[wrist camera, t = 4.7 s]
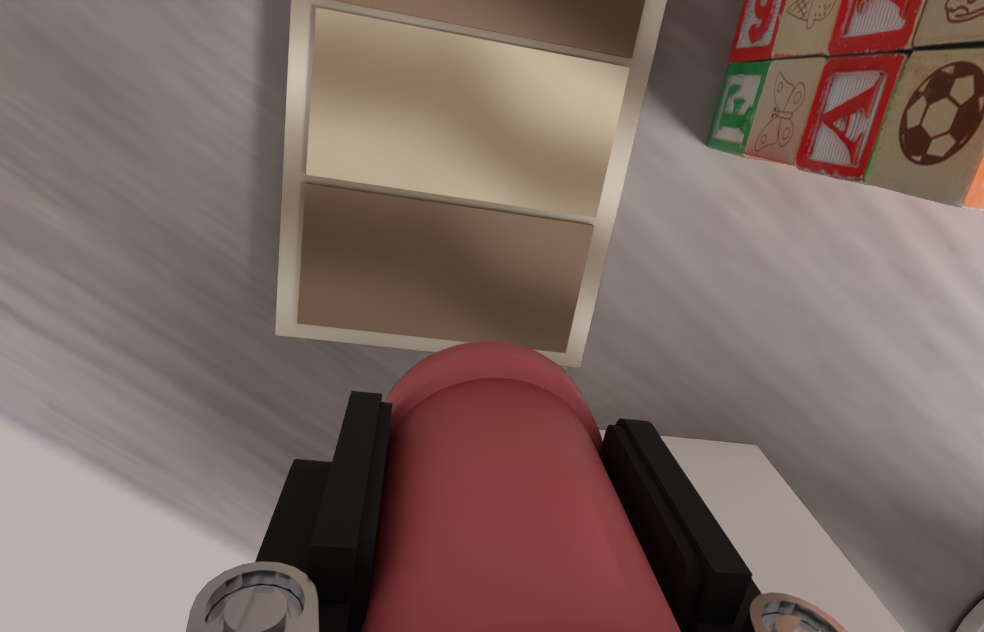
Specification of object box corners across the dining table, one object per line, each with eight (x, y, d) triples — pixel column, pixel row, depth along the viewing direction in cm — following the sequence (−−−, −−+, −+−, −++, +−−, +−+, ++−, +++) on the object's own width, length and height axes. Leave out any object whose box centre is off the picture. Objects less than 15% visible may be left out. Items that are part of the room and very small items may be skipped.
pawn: (565, 535, 13) (823, 1375, 5) (365, 520, 13) (220, 1463, 4) (610, 354, 12) (1107, 1074, 3) (387, 328, 11) (235, 1136, 3)
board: (573, 355, 26) (581, 369, 24) (281, 323, 24) (273, 337, 22) (733, -341, 18) (757, -375, 17) (322, -471, 16) (314, -520, 15)
